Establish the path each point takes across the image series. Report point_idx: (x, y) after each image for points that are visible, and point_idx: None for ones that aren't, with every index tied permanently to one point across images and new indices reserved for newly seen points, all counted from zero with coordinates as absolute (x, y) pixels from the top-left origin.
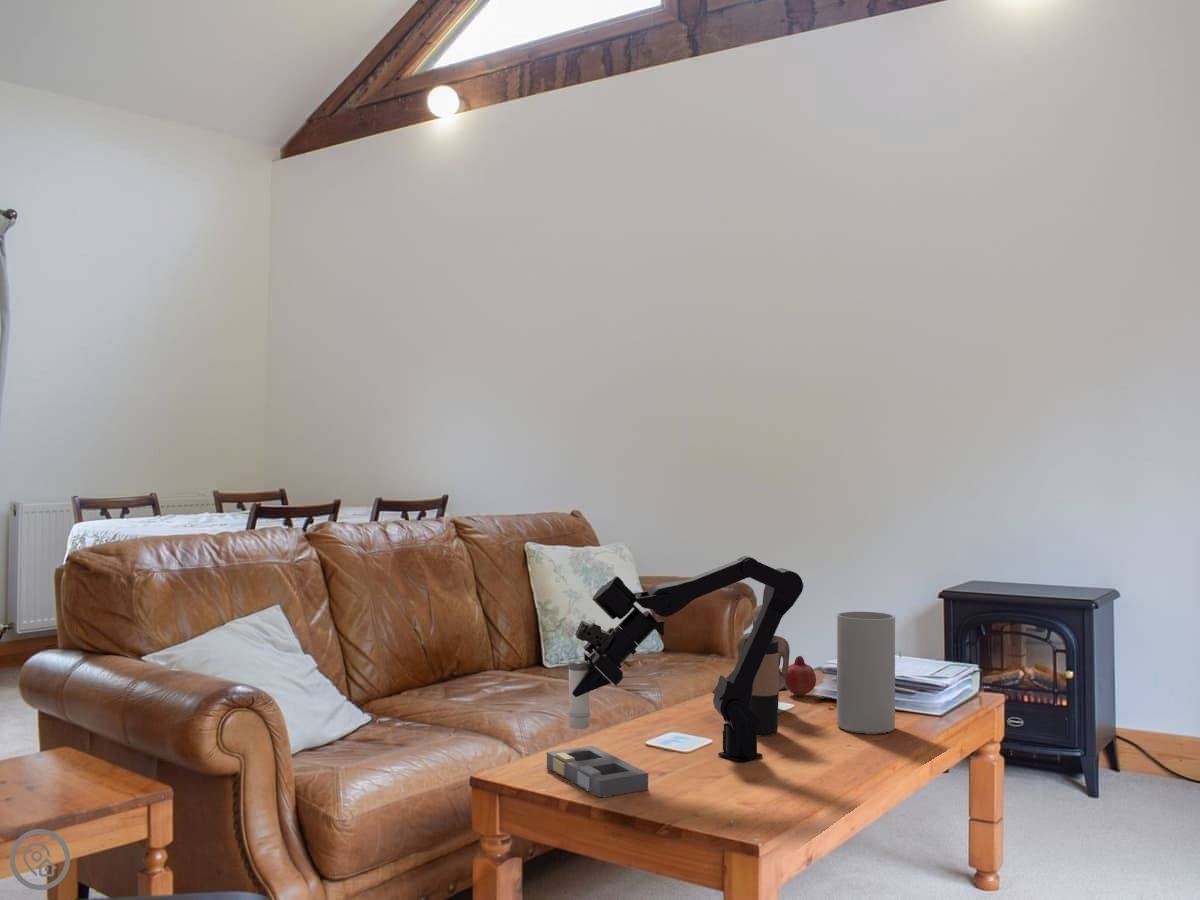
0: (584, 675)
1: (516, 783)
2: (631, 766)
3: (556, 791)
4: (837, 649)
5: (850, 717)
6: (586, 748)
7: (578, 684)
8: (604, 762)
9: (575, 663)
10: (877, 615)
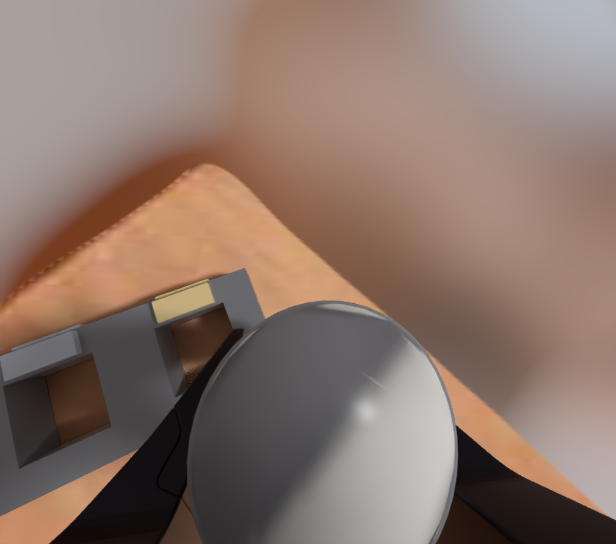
0: (188, 446)
1: (158, 214)
2: (64, 475)
3: (83, 280)
4: None
5: None
6: None
7: (211, 370)
8: (125, 398)
9: (268, 385)
10: None
